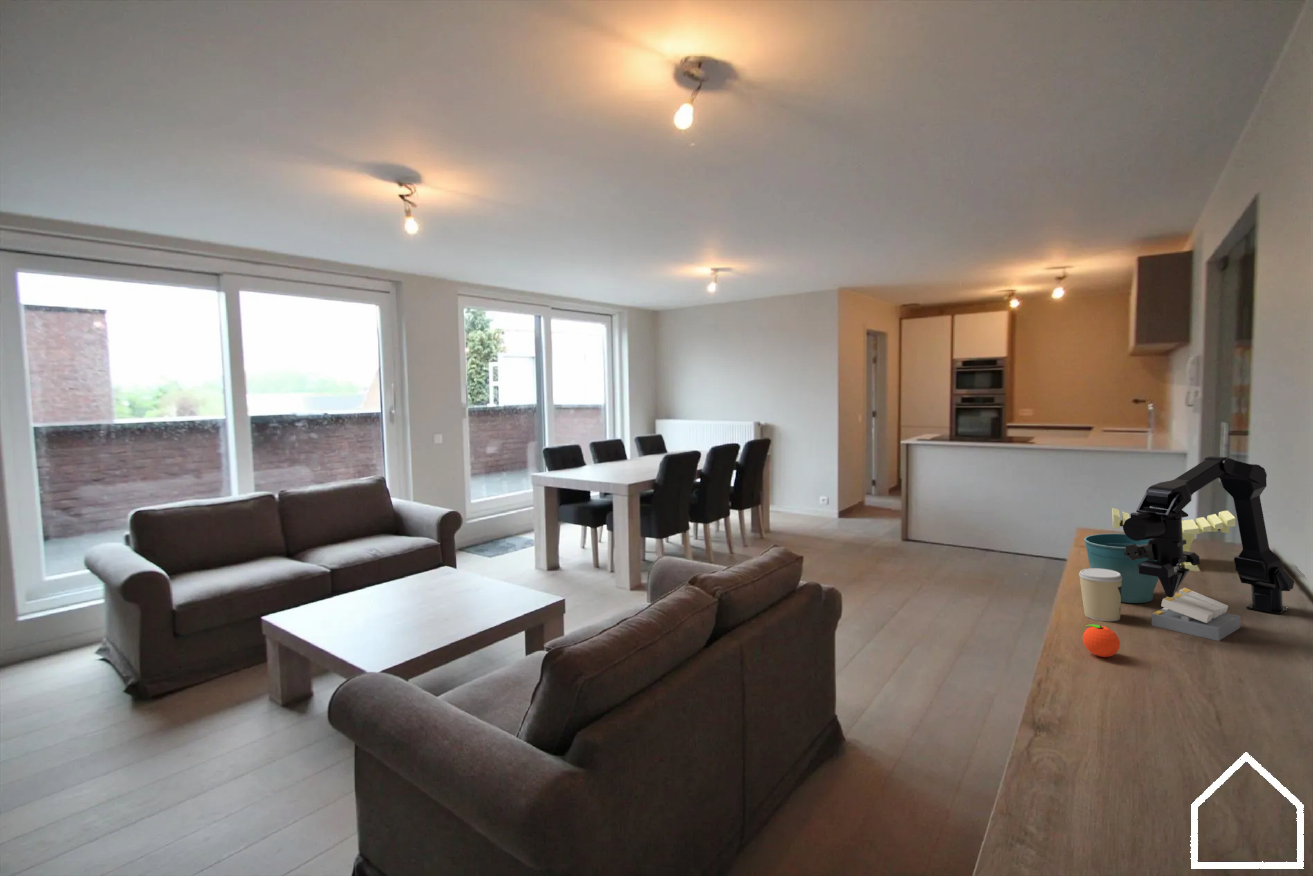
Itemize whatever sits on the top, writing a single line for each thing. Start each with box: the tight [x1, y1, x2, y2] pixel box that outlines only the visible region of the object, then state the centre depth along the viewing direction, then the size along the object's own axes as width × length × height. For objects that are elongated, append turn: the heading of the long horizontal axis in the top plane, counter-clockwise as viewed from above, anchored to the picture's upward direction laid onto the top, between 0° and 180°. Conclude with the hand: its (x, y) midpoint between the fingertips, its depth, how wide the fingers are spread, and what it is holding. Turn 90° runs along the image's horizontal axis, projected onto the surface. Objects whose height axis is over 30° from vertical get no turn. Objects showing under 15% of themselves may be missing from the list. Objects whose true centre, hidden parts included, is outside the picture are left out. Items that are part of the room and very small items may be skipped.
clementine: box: [1080, 623, 1121, 658], centre depth 137 cm, size 8×7×7 cm
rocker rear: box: [1178, 587, 1229, 615], centre depth 150 cm, size 3×9×2 cm, turn 29°
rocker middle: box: [1172, 592, 1221, 618], centre depth 148 cm, size 3×9×2 cm, turn 29°
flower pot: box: [1083, 533, 1159, 604], centre depth 171 cm, size 18×18×17 cm
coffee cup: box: [1078, 567, 1122, 622], centre depth 159 cm, size 9×9×12 cm
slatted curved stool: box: [1111, 507, 1237, 572], centre depth 199 cm, size 30×16×18 cm, turn 54°
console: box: [1150, 607, 1241, 642], centre depth 148 cm, size 13×13×4 cm
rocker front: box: [1160, 596, 1213, 623], centre depth 146 cm, size 3×9×2 cm, turn 29°
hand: (1170, 596), depth 149 cm, fingers closed
